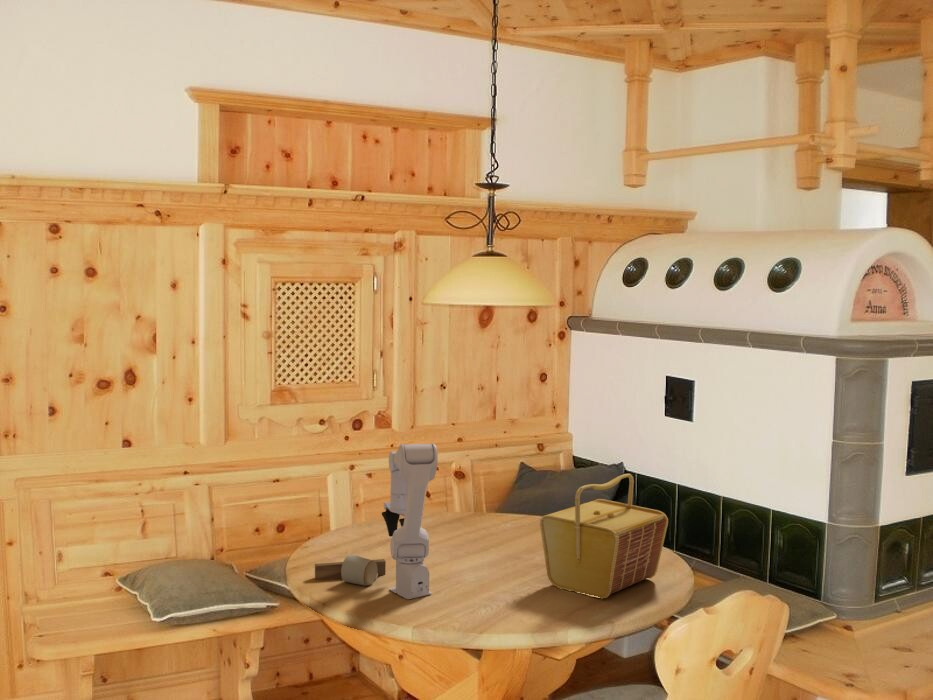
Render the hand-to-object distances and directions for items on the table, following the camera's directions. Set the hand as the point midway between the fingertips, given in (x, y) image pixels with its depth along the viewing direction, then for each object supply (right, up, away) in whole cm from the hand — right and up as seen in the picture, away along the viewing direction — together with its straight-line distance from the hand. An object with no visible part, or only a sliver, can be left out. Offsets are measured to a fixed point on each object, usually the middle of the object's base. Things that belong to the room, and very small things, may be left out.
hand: (399, 539), depth 288 cm
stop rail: (-14, -10, -2) cm, 17 cm away
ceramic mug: (-10, -11, -6) cm, 16 cm away
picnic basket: (+58, -12, -3) cm, 59 cm away
